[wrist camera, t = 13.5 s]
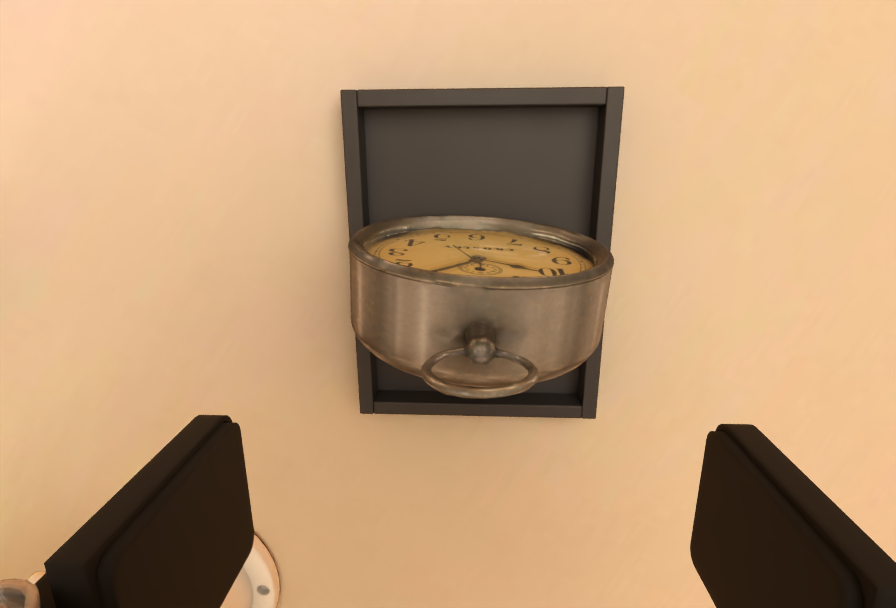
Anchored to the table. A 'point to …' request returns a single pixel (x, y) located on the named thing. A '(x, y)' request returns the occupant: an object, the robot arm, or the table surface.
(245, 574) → the robot arm
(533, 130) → the tray
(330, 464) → the table surface
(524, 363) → the alarm clock
